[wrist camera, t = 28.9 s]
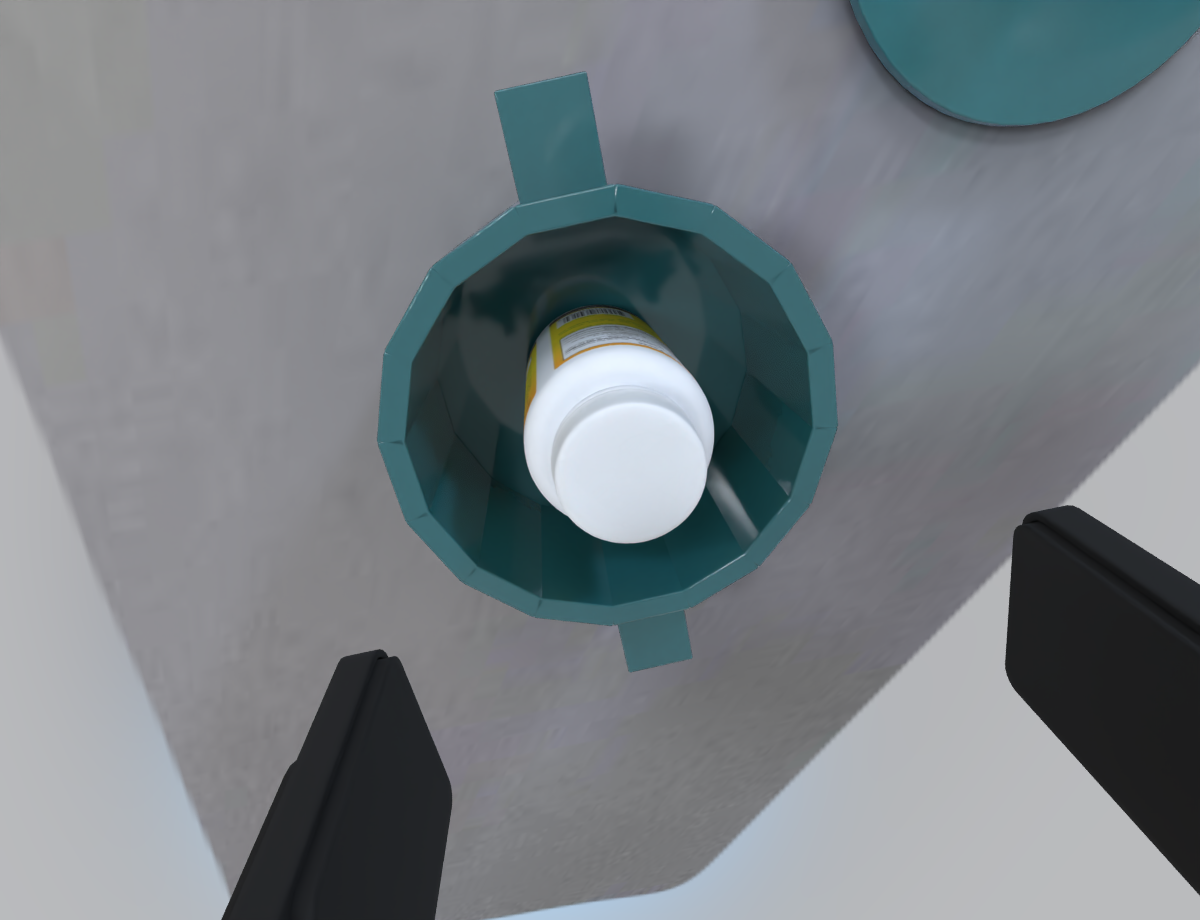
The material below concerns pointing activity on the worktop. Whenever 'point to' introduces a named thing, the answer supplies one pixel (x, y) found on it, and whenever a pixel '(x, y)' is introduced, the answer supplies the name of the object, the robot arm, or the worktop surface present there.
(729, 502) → the pot
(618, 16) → the worktop surface
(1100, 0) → the lid
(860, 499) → the worktop surface
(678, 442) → the supplement bottle
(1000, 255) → the worktop surface
